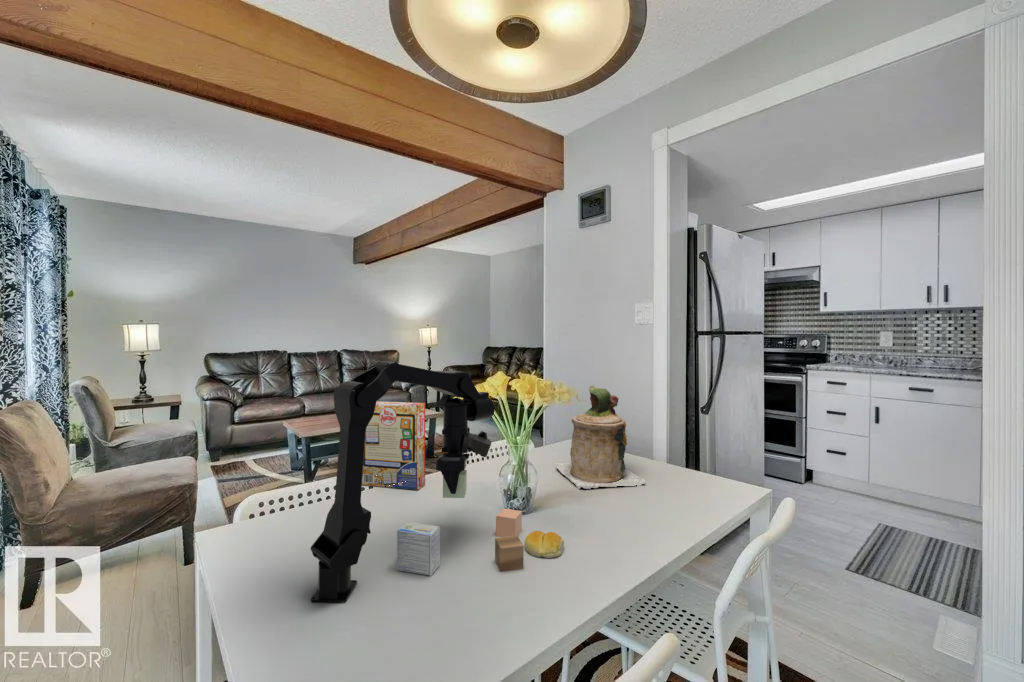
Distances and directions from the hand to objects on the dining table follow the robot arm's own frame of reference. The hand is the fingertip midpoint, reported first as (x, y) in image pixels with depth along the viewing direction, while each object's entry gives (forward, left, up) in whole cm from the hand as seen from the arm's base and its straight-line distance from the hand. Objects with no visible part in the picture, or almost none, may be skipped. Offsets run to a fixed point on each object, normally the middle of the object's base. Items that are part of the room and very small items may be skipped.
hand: (454, 489), depth 104 cm
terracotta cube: (+5, -13, -13) cm, 19 cm away
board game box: (+39, +25, -13) cm, 48 cm away
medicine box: (-12, +6, -13) cm, 18 cm away
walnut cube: (-10, -13, -13) cm, 21 cm away
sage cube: (0, 0, -1) cm, 1 cm away
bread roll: (-3, -21, -13) cm, 25 cm away
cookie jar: (+50, -44, -13) cm, 68 cm away
